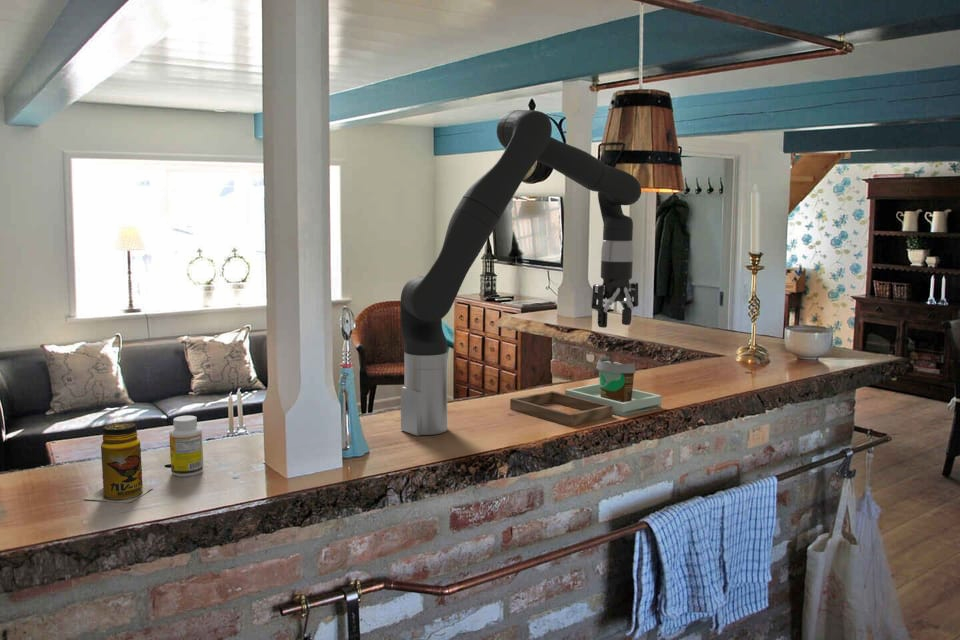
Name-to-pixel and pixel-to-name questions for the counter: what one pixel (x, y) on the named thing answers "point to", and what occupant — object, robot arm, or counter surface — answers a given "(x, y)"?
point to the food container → (616, 379)
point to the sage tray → (637, 405)
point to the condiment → (120, 464)
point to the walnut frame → (533, 408)
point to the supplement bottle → (186, 447)
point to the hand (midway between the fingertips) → (614, 325)
